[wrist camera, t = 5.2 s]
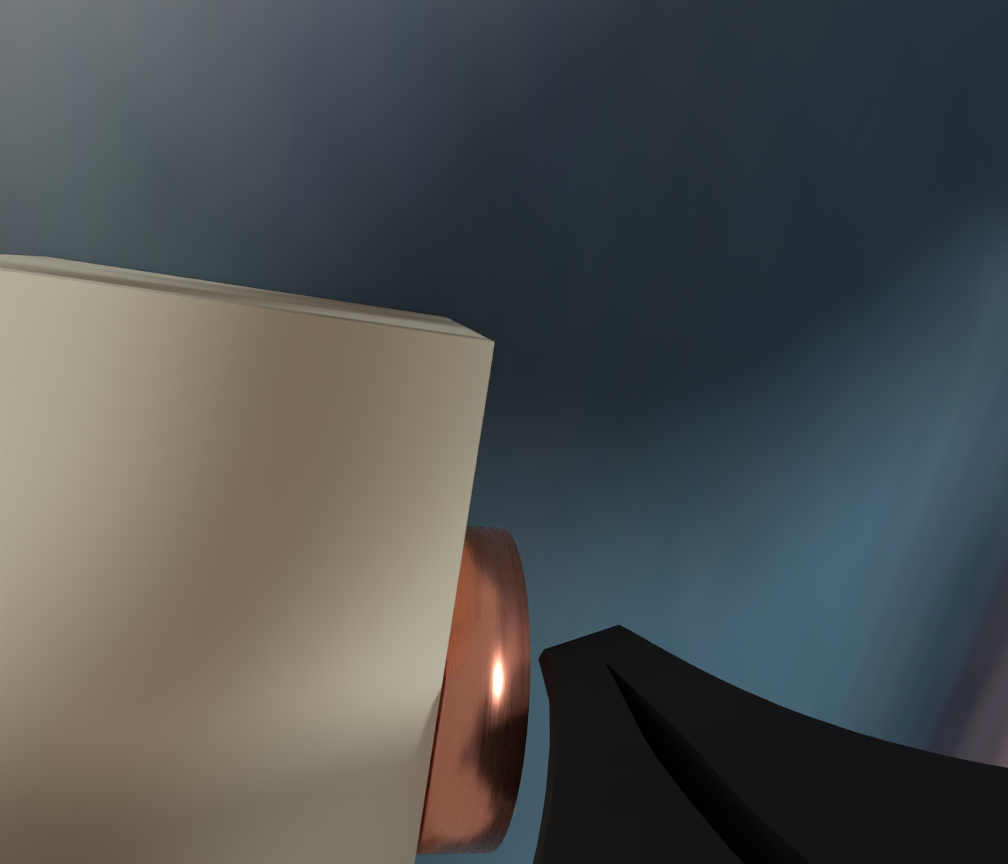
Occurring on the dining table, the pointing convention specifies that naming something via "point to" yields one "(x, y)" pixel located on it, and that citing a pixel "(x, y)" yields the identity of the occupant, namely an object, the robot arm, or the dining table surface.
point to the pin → (480, 703)
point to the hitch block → (223, 566)
